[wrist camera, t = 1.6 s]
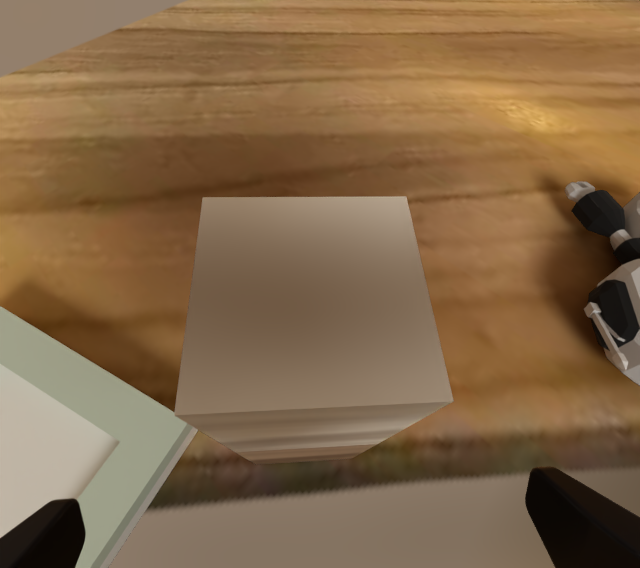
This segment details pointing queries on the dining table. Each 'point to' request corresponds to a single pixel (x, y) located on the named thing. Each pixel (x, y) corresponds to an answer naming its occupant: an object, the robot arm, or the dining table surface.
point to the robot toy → (614, 275)
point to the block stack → (308, 328)
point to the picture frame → (78, 440)
